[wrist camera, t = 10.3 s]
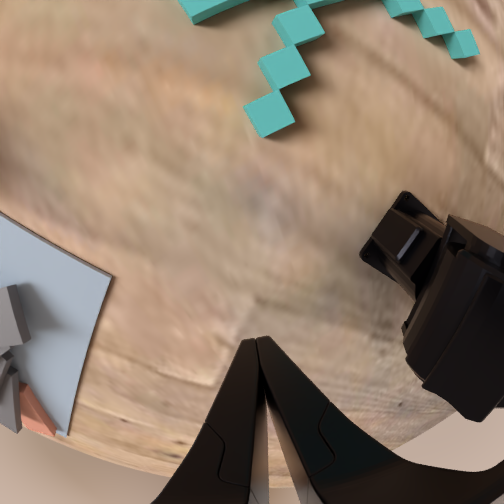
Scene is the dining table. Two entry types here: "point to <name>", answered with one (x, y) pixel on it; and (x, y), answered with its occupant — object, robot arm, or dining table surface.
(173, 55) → the dining table surface
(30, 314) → the mat
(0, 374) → the domino
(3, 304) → the domino
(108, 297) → the dining table surface
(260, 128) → the alien figure
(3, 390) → the domino
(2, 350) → the domino
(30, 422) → the domino
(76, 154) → the dining table surface
